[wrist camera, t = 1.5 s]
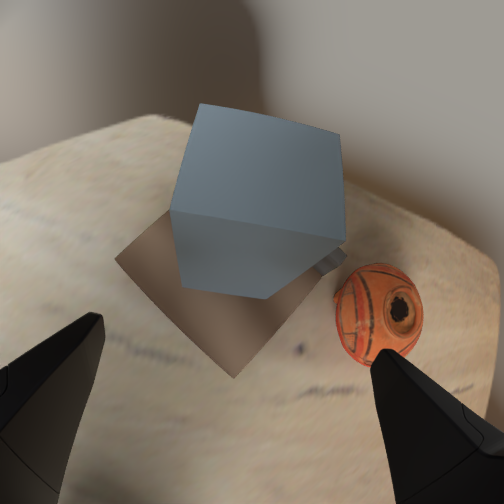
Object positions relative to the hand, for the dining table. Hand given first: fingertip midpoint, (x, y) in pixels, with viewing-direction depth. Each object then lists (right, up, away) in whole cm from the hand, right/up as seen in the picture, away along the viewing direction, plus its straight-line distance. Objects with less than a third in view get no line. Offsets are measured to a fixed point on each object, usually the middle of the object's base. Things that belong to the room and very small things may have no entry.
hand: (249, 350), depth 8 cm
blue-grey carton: (-2, +2, +13) cm, 13 cm away
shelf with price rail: (-2, +2, +14) cm, 14 cm away
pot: (+9, -3, +15) cm, 18 cm away
